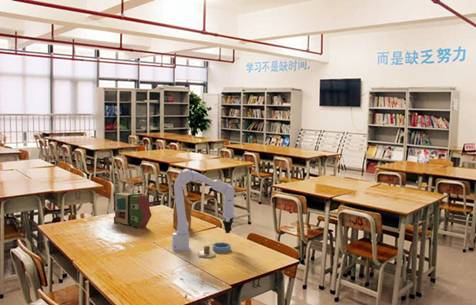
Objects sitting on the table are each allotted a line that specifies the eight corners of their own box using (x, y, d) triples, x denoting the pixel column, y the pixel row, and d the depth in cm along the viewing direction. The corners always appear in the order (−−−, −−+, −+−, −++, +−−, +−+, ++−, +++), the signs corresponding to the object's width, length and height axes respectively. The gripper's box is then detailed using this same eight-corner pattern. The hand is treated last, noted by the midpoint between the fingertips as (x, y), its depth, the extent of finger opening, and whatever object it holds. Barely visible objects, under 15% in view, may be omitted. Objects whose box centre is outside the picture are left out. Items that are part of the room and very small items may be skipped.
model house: (109, 192, 287) (141, 197, 270) (120, 190, 294) (151, 195, 277) (110, 223, 288) (141, 231, 271) (120, 221, 296) (151, 228, 279)
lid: (199, 258, 226) (199, 249, 225) (197, 252, 235) (197, 244, 234) (216, 257, 227) (216, 249, 227) (214, 251, 236) (214, 243, 236)
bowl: (213, 253, 235) (213, 248, 234) (211, 247, 244) (211, 242, 244) (231, 253, 236) (231, 247, 236) (228, 247, 246) (228, 242, 245)
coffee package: (184, 224, 292) (185, 191, 290) (192, 228, 281) (193, 195, 279) (170, 225, 287) (171, 192, 284) (178, 230, 276) (179, 196, 274)
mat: (199, 258, 226) (199, 258, 226) (197, 253, 235) (197, 252, 235) (216, 258, 228) (216, 257, 227) (213, 252, 236) (213, 251, 236)
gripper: (235, 210, 234) (234, 235, 236) (236, 204, 249) (235, 227, 250) (222, 209, 234) (221, 234, 236) (224, 204, 249) (223, 227, 250)
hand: (228, 231), depth 243 cm, fingers open, 7 cm apart
